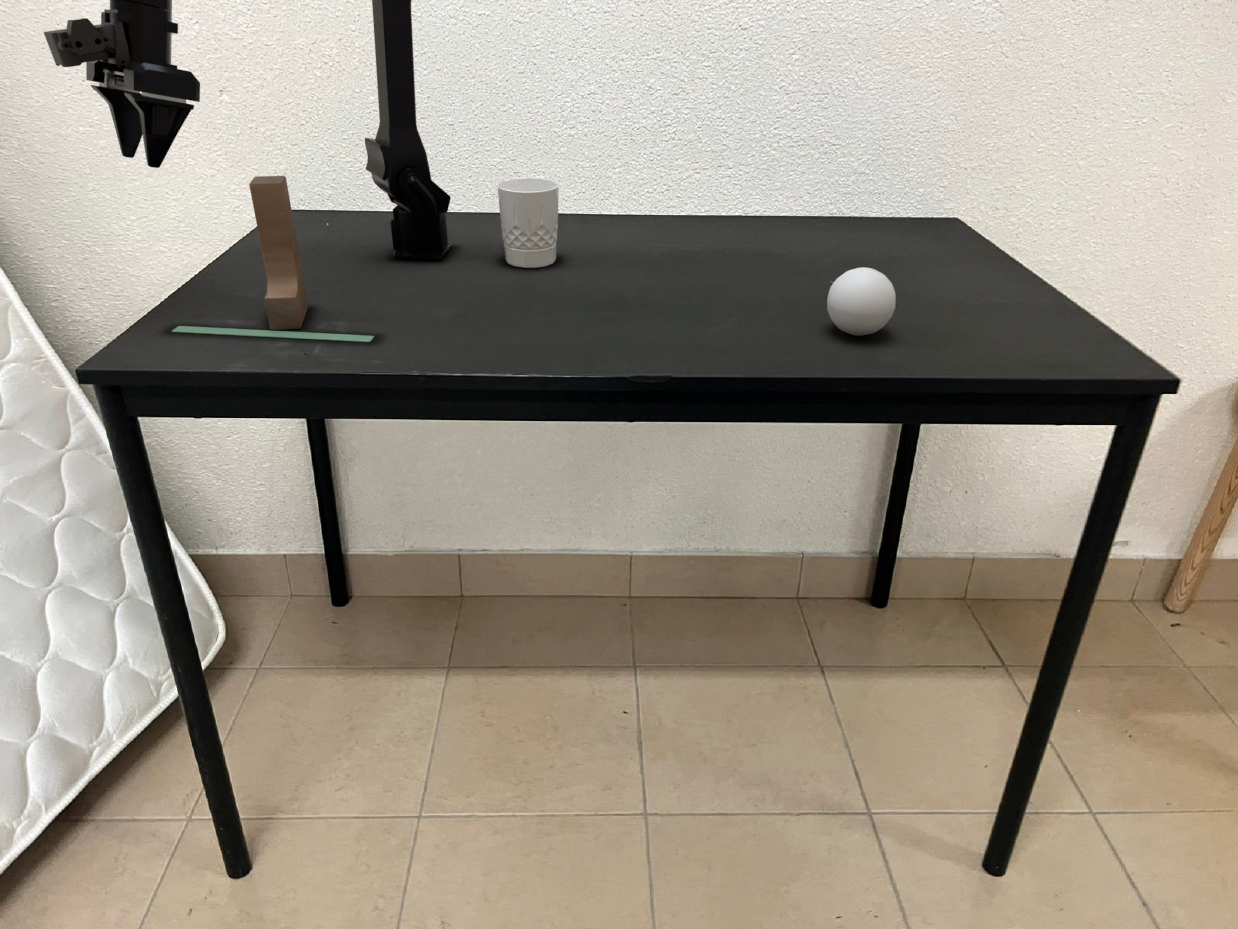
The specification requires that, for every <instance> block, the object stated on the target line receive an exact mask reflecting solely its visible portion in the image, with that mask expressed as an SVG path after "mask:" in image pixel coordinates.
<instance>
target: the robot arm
mask: <svg viewBox="0 0 1238 929" xmlns="http://www.w3.org/2000/svg"><path fill="white" fill-rule="evenodd" d="M371 5H372V18H373V19H372V21H373V35H374V36H373V37H374V38H373V39H374V53H375V67H376V68H375V69H376V70H375V71H376V84H377V85H376V86H377V99H378V112H379V113H378V116H379V123H378V129H377V132H376V135H375V138H370V137H365V138H364V146H365V151H366V155H367V162H366V166H365V170H366V171H367V172H369V173H370V174H371V178H372V181H373V183H374V184H375V185H376V186H377V187H378V188H379V189H380V190H381V191H383V192H384V193H386V194H387V197H388V198H389V201H390V202H391V203H392V204H395V205H396V206H395V207H393V208H392V218H391V219H390V220H389V224H390V231H391V242H392V249H393V250H394V251H395V252H394V253H393V259H398V260H399V259H400V260H421V261H422V260H423V261H441V260H442V259H443V258H444V257H445V256H446V255H447V253H448V252H449V251H450V250H451V249H452V247H453V244H452V243H451V242H449V241H448V240H449V238H448V229H447V216H446V214H447V213H448V211H449V207H450V203H451V196H450V194H448V193H447V192H446V191H445V190H443V189H442V188H441V187H440V186H439V185H438V184H436V182H434V181H433V180H432V174H431V169H430V165H429V164H430V163H429V160H428V154H427V151H426V148H425V146H424V143H423V141H422V138H421V135H420V133H419V130H418V126H417V125H418V124H417V111H416V110H417V108H416V106H417V105H416V86H415V85H416V84H415V64H414V62H415V61H414V60H415V59H414V39H413V19H412V17H413V15H412V0H371ZM66 22H67V23H66V28H63V29H62V28H61V29H55V30H48V31H47V30H46V31H43V35H44V37H45V40H46V43H47V44H48V45H47V46H48V48H49V50H50V53H51V55H52V58H53V61H54V64H55V66H56V67H59V66H61V67H62V68H72V67H78V66H80V67H81V65H82V64H83V63H85V65H86V66H85V67H86V68H85V70H86V72H85V73H86V76H85V77H86V81H90V82H94V83H98V85H96V84H90V87H91V88H92V90H93V91H95V92H96V93H97V94H98V95H99V96H100V97H101V98H102V99H103V100H104V101H105V102H106V103H107V106H108V107H109V111H110V115H111V118H112V122H113V124H114V129H115V134H116V136H117V141H118V145H119V148H120V152H121V155H122V156H123V157H124V158H130V159H134V157H135V155H136V153H137V151H138V148H139V146H140V142H141V140H143V147H144V153H145V159H146V164H147V166H148V167H149V168H155V169H156V168H157V169H159V168H160V167H161V166H162V165H163V162H164V160H165V158H166V156H167V155H168V153H169V151H170V149H171V147H172V145H173V143H174V141H175V139H176V138H177V136H178V133H179V132H180V130H181V129H182V126H183V125H184V123H185V122H186V120H187V118H188V116H189V115H190V113H191V111H193V110H195V104H191V103H187V101H191V102H197V103H201V102H200V101H201V82H200V80H198V78H197V77H196V75H194V73H193V72H192V71H189V70H184V69H179V68H178V65H176V64H172V48H173V47H172V46H173V45H172V44H173V43H172V40H173V39H172V38H173V36H172V35H178V34H179V22H178V23H177V22H173V0H109V9H107V8H106V9H104V10H103V11H101V14H100V24H93V23H92V22H91V20H89V19H88V18H86V17H84V18H83V17H82V18H78V19H68V20H67V21H66Z"/></svg>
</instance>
